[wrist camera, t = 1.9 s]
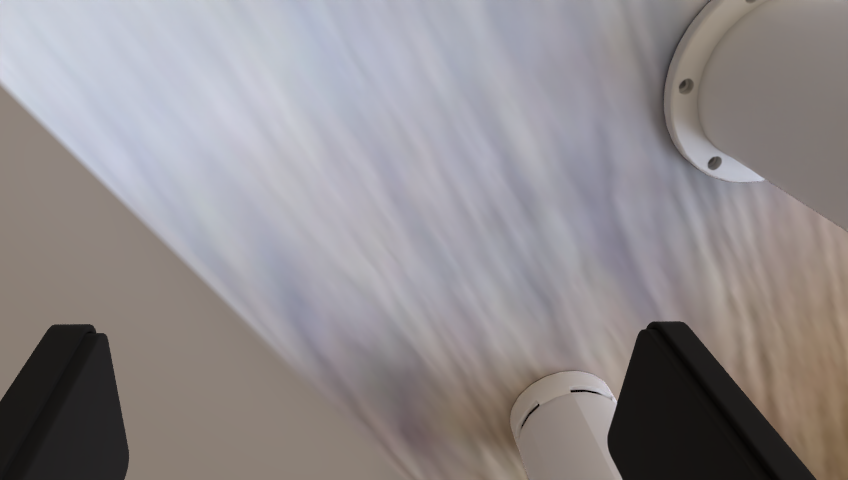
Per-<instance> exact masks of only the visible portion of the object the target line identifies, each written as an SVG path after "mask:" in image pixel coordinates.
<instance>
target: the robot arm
mask: <svg viewBox="0 0 848 480" xmlns="http://www.w3.org/2000/svg"><path fill="white" fill-rule="evenodd" d="M681 82H682V83H681ZM680 83H681V85H680ZM679 85H680V86H679ZM664 113H665V119H666V125H667V129H668V131H669V134H670V136H671V139H672V141H673V143H674V145H675V146H676V147H677V149H678V150H679V152H680V153H681V154H682V156H683V157H684V158H685V159H687V160H688V161H689V162H690V163H691V164H692V165H694V166H695V167H696V168H698V169H699V170H701V171H702V172H704V173H705V174H707V175H709V176H712V177H714V178H717V179H720V180H723V181H728V182H736V183H750V182H761V181H765V180H767V181H769V182H770V183H772V184H773V185H775V186H777V187H778V188H780V189H781V190H783V191H784V192H786V193H788V194H789V195H791V196H792V197H794V198H795V199H797V200H798V201H800V202H802V203H803V204H805V205H806V206H808V207H809V208H811V209H813V210H814V211H816V212H817V213H819V214H820V215H822V216H823V217H825V218H827V219H828V220H830V221H831V222H833V223H834V224H836V225H838V226H839V227H841V228H842V229H844V230H845V231H847V232H848V0H711V1H710V2H709V3H708V4H707V5H706V6H705V7H704V8H703V9H702V11H701V12H700V13H699V14H698V15H697V17H696V18H695V19H694V20H693V22H692V23H691V24H690V25H689V27H688V29H687V31H686V32H685V34H684V36H683V37H682V39H681V41H680V43H679V44H678V46H677V48H676V51H675V54H674V56H673V59H672V61H671V64H670V66H669V70H668V74H667V79H666V84H665V88H664ZM607 444H608V450H609V453H610V455H611V458H612V460H613V462H614V464H615V465H616V467H617V469H618V471H619V473H620V475H621V477H622V479H623V480H816V478H815V477H814V476H813V475H812V474H811V472H810V471H809V470H808V469H807V468H806V466H805V465H804V464H803V463H802V462H801V460H800V459H799V458H798V457H797V456H796V454H795V453H794V452H793V451H792V450H791V448H790V447H789V446H788V445H787V444H786V442H785V441H784V440H783V439H782V438H781V437H780V435H779V434H778V433H777V432H776V431H775V429H774V428H773V427H772V426H771V425H770V423H769V422H768V421H767V420H766V419H765V417H764V416H763V415H762V414H761V413H760V411H759V410H758V409H757V408H756V407H755V405H754V404H753V403H752V402H751V401H750V399H749V398H748V397H747V396H746V395H745V393H744V392H743V391H742V390H741V389H740V387H739V386H738V385H737V384H736V383H735V382H734V380H733V379H732V378H731V377H730V376H729V374H728V373H727V372H726V371H725V370H724V368H723V367H722V366H721V365H720V364H719V362H718V361H717V360H716V359H715V358H714V356H713V355H712V354H711V353H710V352H709V350H708V349H707V348H706V347H705V346H704V344H703V343H702V342H701V341H700V340H699V338H698V337H697V336H696V335H695V334H694V332H693V331H692V330H691V329H690V328H689V326H688V325H686V324H685V323H684V322H680V321H674V322H651V323H650V324H649V325H648V326H647V328H646V329H644V330H641V331H640V332H639V334H638V336H637V340H636V343H635V346H634V349H633V353H632V356H631V359H630V363H629V366H628V369H627V372H626V376H625V379H624V382H623V386H622V389H621V392H620V395H619V399H618V402H617V405H616V409H615V412H614V415H613V418H612V422H611V425H610V428H609V432H608V436H607ZM128 462H129V450H128V445H127V439H126V434H125V428H124V423H123V418H122V413H121V407H120V401H119V396H118V391H117V385H116V380H115V375H114V369H113V364H112V359H111V353H110V348H109V342H108V339H107V336H106V335H105V334H104V333H96V330H95V328H94V326H92V325H90V324H74V325H52V326H51V327H50V328H49V329H48V330H47V332H46V333H45V335H44V336H43V338H42V340H41V341H40V342H39V344H38V345H37V347H36V348H35V350H34V351H33V353H32V354H31V356H30V357H29V359H28V360H27V362H26V363H25V365H24V366H23V368H22V370H21V371H20V373H19V374H18V376H17V377H16V379H15V380H14V382H13V383H12V385H11V386H10V388H9V389H8V391H7V392H6V394H5V395H4V397H3V398H2V400H1V401H0V480H124V479H125V476H126V472H127V469H128Z"/></svg>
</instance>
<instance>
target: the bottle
mask: <svg viewBox="0 0 848 480" xmlns="http://www.w3.org/2000/svg"><path fill="white" fill-rule="evenodd" d="M582 389H585V390H589V391H594V392H598V393H600V394H601V395H599V394H594V393H590V392H573V393H571V391H570V390H582ZM538 404H539V405H540V406H539V407H538V408H537V409H536V410H535V411H534V412H533V413H532V414H531V415H530V416H529V417H528V419H527V421H526V422H525V424H524V426H523V427H522V424H523V422H524V420H525V418H526V417H527V415H528V413H529V412H530V411H531V410H532V409H533V408H534V407H536V406H537V405H538ZM616 405H617V401H616V399H615V398H614V396H613V394H612V392H611V391H610V389H609V388H608V386H607V385H606V383H605V382H604V381H603V380H601V379H600V378H598V377H596V376H595V375H593V374H590V373H585V372H581V371H566V372H559V373H556V374H552V375H549V376H546V377H544V378H542V379H540V380H538V381H537V382H535V383H533V384H531V385H530V386H529V387H528V388H527V389H526V390H525V391H524V392H523V393H522V394H521V395H520V396H519V397H518V398H517V400H516V402H515V404H514V406H513V407H512V409H511V416H510V425H511V429H512V433H513V436H514V438H515V441H516V444H517V447H518V449H519V451H520V454H521V458H522V461H523V464H524V467H525V470H526V473H527V476H528V479H529V480H623V479H622V477H621V475H620V473H619V471H618V469H617V467H616V465H615V464H614V462H613V460H612V458H611V455H610V453H609V450H608V444H607V436H608V432H609V428H610V425H611V422H612V418H613V415H614V412H615V409H616ZM521 427H522V429H521Z"/></svg>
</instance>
